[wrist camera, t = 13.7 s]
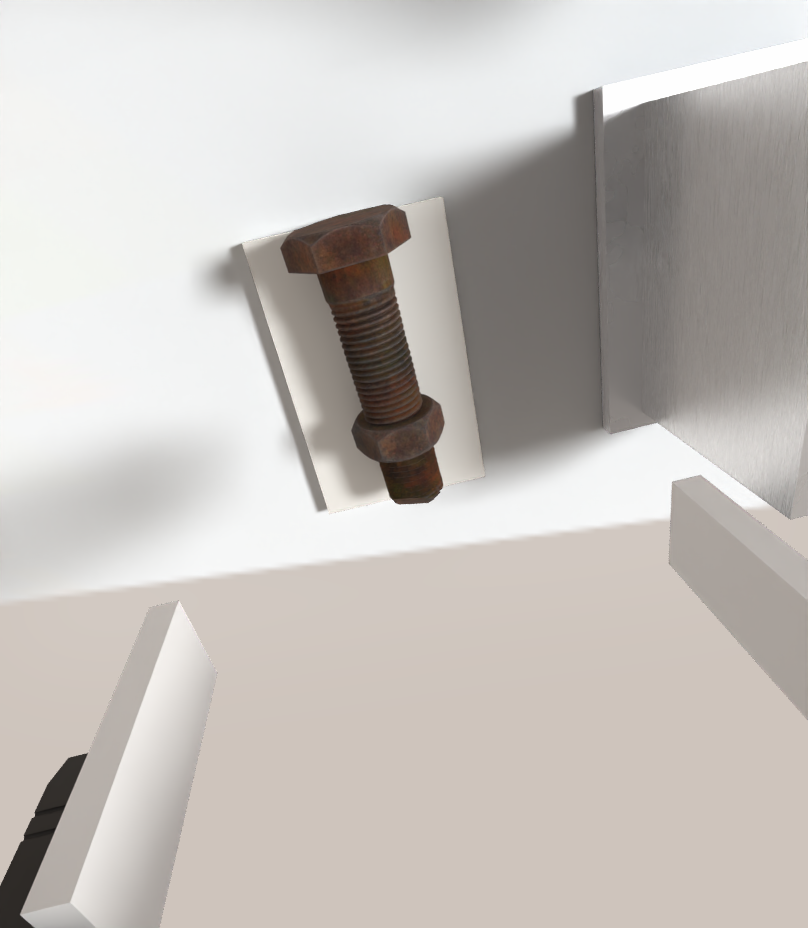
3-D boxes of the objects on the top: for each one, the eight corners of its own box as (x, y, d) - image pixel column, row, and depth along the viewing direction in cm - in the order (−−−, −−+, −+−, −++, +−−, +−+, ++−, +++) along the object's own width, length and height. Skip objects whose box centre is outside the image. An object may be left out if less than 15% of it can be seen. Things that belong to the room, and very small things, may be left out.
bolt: (397, 465, 35) (323, 217, 27) (472, 465, 33) (415, 195, 25) (358, 523, 30) (257, 246, 23) (442, 528, 28) (361, 224, 21)
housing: (593, 89, 26) (805, 14, 14) (795, 43, 26) (1167, -69, 14) (603, 427, 34) (741, 550, 23) (755, 390, 34) (969, 494, 23)
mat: (243, 242, 27) (241, 243, 26) (439, 196, 27) (442, 197, 26) (329, 507, 34) (329, 514, 34) (482, 470, 35) (485, 476, 34)
